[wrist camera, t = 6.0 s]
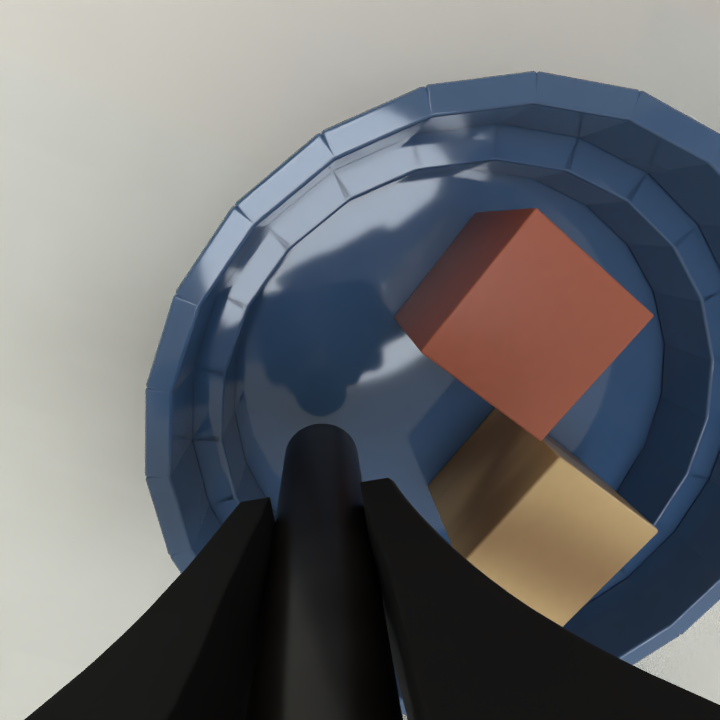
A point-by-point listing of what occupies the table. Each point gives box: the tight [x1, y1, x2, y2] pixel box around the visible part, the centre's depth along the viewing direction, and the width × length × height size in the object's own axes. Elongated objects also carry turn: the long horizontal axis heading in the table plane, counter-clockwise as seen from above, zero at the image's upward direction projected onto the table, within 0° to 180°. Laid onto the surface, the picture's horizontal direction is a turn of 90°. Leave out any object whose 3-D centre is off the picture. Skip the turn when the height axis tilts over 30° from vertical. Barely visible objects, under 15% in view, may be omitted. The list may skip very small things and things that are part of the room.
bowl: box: [145, 71, 720, 715], centre depth 14 cm, size 17×17×4 cm
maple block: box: [428, 408, 658, 627], centre depth 14 cm, size 4×4×4 cm
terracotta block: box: [394, 208, 654, 441], centre depth 13 cm, size 4×4×4 cm
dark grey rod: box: [246, 423, 403, 720], centre depth 8 cm, size 2×2×9 cm
